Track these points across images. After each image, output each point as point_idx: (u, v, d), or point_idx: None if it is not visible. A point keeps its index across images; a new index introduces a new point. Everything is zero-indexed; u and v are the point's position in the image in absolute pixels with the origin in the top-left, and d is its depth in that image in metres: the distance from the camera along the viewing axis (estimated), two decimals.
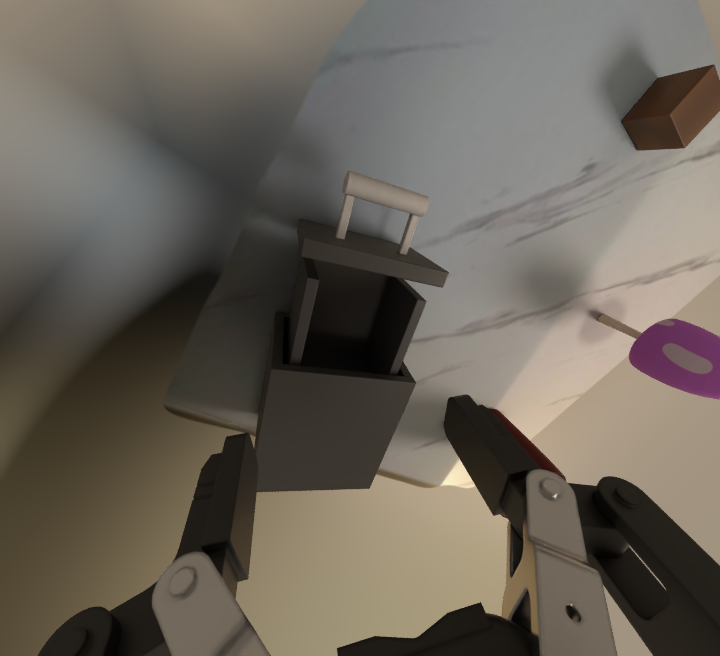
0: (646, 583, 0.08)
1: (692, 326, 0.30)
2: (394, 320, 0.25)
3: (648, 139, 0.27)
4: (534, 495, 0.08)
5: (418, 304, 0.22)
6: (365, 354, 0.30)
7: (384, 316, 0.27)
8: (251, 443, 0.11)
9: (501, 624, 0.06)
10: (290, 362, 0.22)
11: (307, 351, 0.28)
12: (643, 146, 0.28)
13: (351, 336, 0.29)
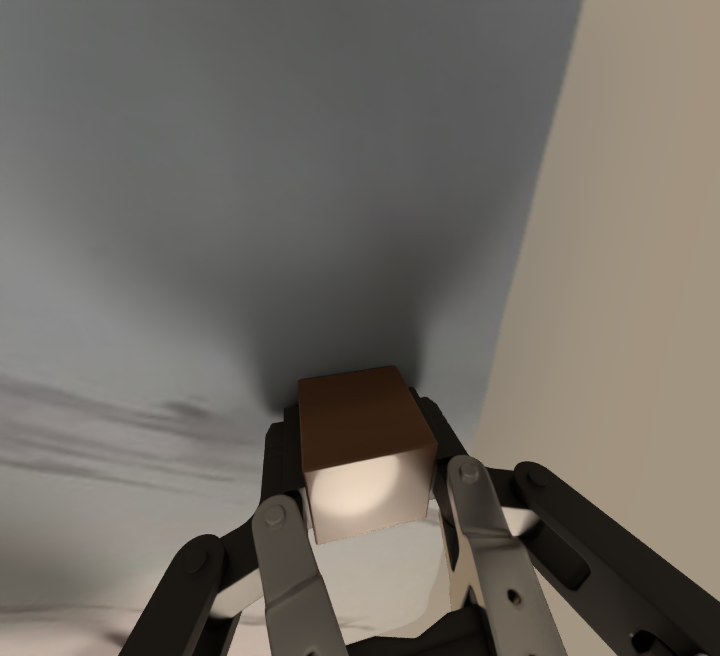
0: (564, 550, 0.09)
1: None
2: None
3: None
4: (457, 484, 0.08)
5: None
6: None
7: None
8: None
9: (458, 638, 0.06)
10: None
11: None
12: None
13: None
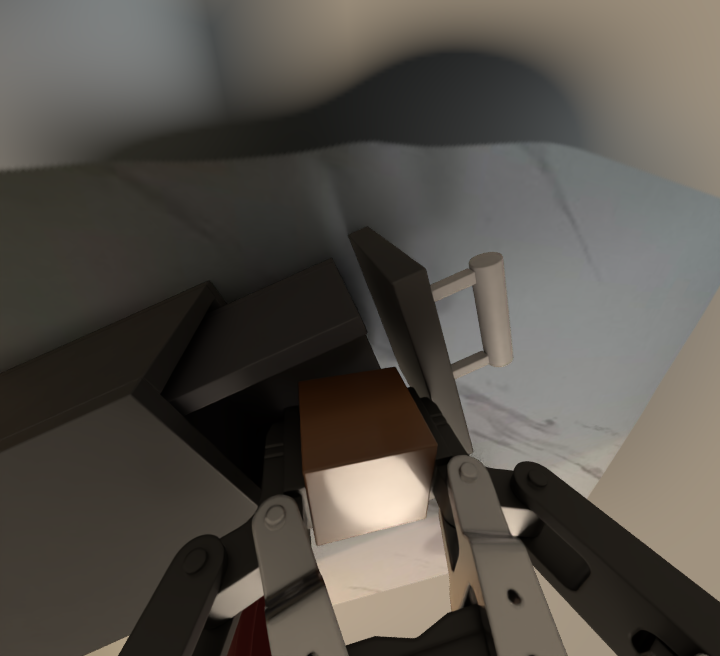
0: (564, 550, 0.09)
1: None
2: None
3: None
4: (457, 484, 0.08)
5: None
6: (260, 431, 0.19)
7: None
8: None
9: (457, 638, 0.06)
10: (175, 399, 0.10)
11: None
12: None
13: (268, 397, 0.18)
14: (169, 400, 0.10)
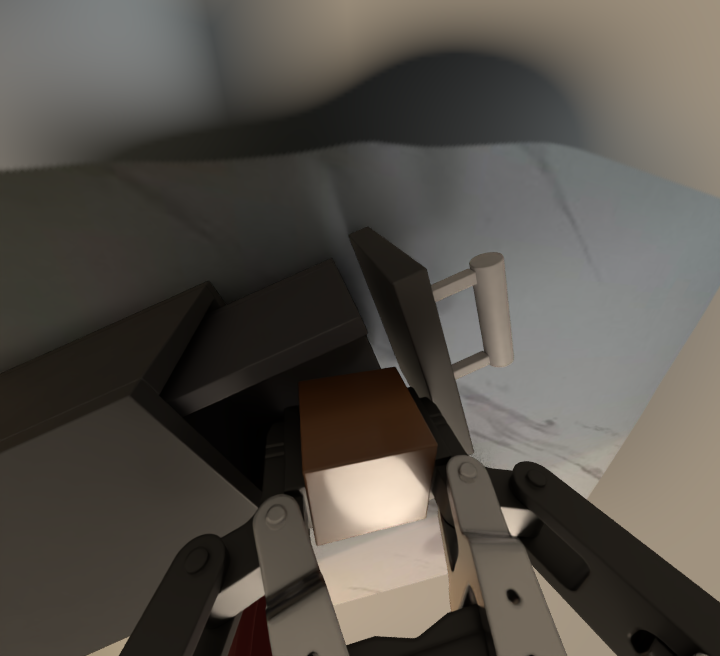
0: (563, 550, 0.09)
1: None
2: None
3: None
4: (456, 484, 0.08)
5: None
6: (260, 431, 0.19)
7: None
8: None
9: (457, 638, 0.06)
10: (175, 399, 0.10)
11: None
12: None
13: (268, 397, 0.18)
14: (169, 401, 0.10)
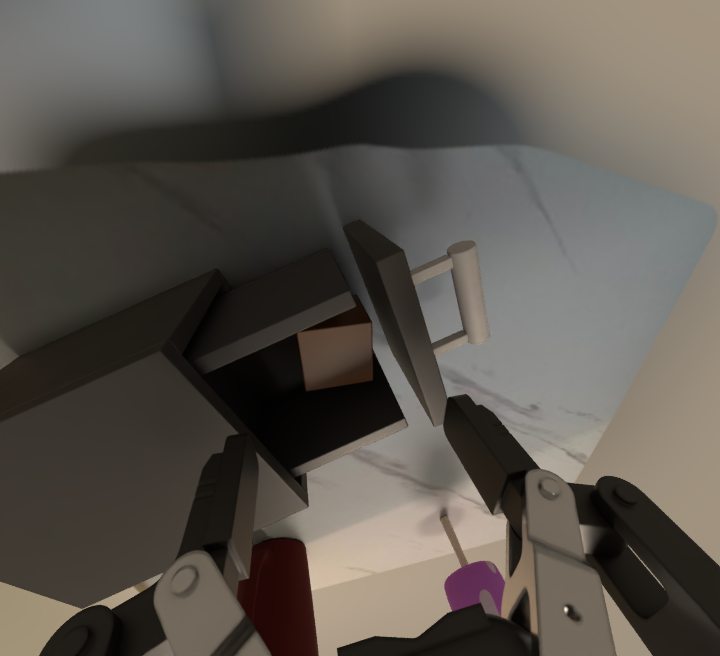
0: (645, 582, 0.08)
1: None
2: (346, 408, 0.18)
3: None
4: (533, 495, 0.08)
5: (400, 423, 0.16)
6: (263, 406, 0.21)
7: (331, 390, 0.20)
8: (252, 443, 0.11)
9: (500, 624, 0.06)
10: (195, 360, 0.12)
11: None
12: None
13: (271, 375, 0.20)
14: (190, 361, 0.12)
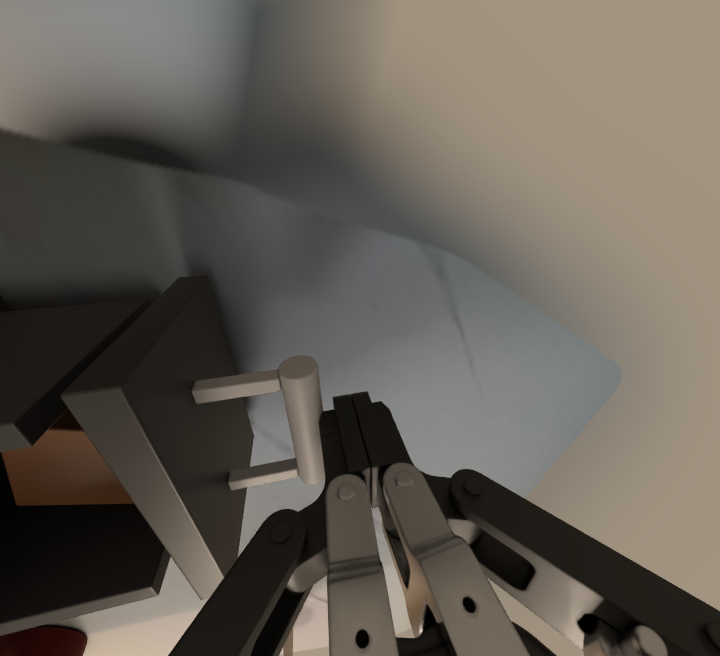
0: (505, 547, 0.09)
1: None
2: (94, 533, 0.12)
3: None
4: (396, 497, 0.08)
5: (142, 592, 0.10)
6: None
7: None
8: None
9: None
10: None
11: None
12: None
13: None
14: None
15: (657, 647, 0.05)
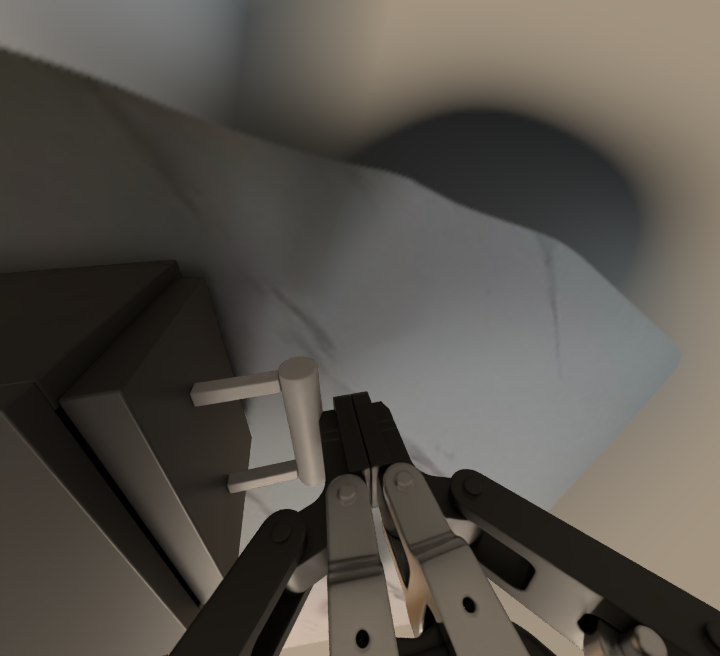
0: (505, 547, 0.09)
1: None
2: None
3: None
4: (395, 497, 0.08)
5: None
6: None
7: None
8: None
9: None
10: None
11: None
12: None
13: None
14: None
15: (657, 647, 0.05)
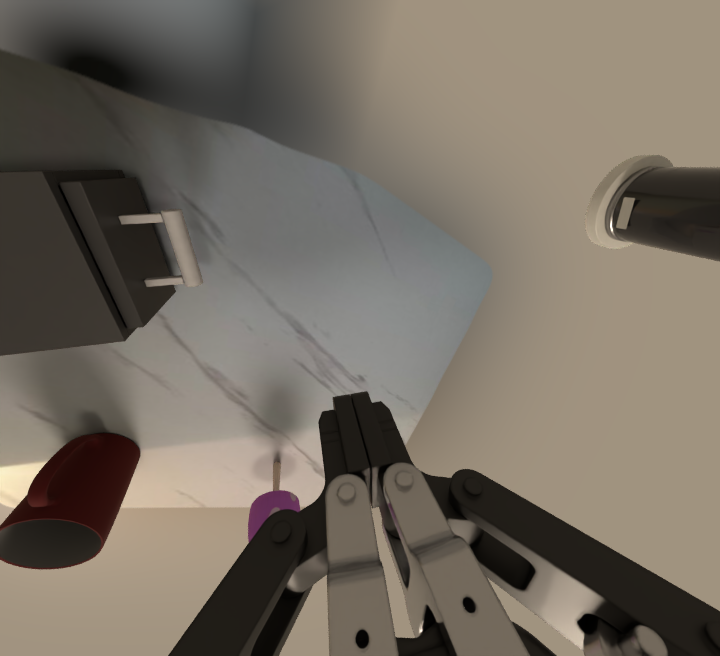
0: (505, 547, 0.09)
1: (298, 511, 0.39)
2: None
3: None
4: (396, 497, 0.08)
5: None
6: None
7: None
8: None
9: None
10: None
11: None
12: None
13: None
14: None
15: (657, 647, 0.05)
